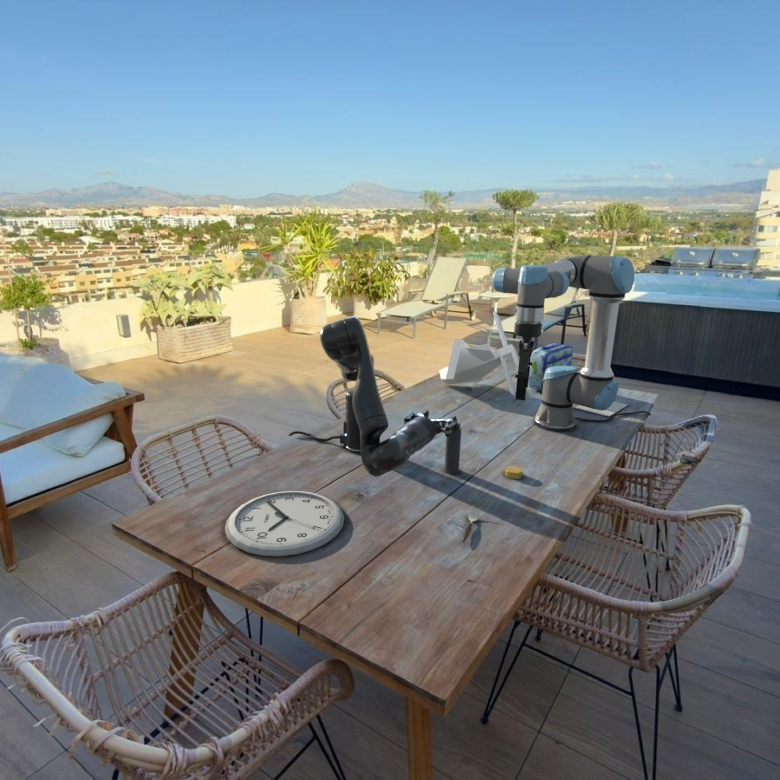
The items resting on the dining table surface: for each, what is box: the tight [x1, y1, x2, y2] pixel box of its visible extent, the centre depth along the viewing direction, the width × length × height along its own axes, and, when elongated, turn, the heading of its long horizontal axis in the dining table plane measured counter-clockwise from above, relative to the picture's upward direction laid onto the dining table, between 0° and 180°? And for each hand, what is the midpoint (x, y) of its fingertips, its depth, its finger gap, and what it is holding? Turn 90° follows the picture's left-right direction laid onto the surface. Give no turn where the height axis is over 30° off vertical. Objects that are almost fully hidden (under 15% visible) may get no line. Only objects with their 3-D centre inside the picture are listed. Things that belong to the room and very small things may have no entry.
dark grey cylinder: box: [444, 420, 462, 475], centre depth 162 cm, size 4×4×16 cm
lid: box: [504, 465, 523, 480], centre depth 162 cm, size 5×5×2 cm
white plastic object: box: [438, 310, 531, 398], centre depth 245 cm, size 37×45×31 cm
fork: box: [462, 505, 481, 543], centre depth 133 cm, size 3×16×2 cm, turn 160°
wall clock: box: [224, 490, 345, 557], centre depth 134 cm, size 30×2×30 cm
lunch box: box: [528, 343, 574, 392], centre depth 249 cm, size 26×11×21 cm, turn 134°
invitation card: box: [573, 400, 629, 418], centre depth 226 cm, size 21×1×15 cm
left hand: (441, 416), depth 149 cm, fingers open, 8 cm apart
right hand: (521, 393), depth 154 cm, fingers open, 13 cm apart
